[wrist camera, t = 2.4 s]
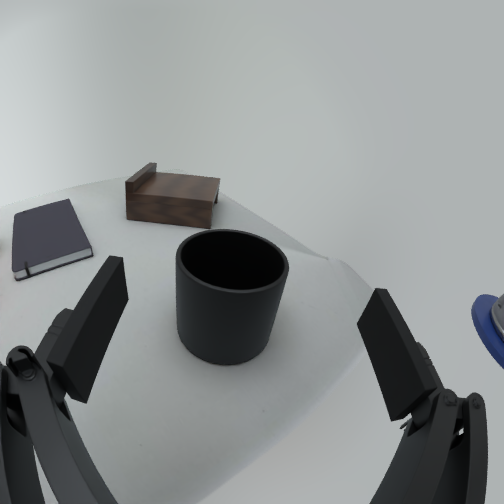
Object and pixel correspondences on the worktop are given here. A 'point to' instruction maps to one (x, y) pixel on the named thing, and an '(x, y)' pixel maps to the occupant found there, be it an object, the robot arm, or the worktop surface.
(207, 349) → the mug
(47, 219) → the notebook
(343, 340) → the worktop surface
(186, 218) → the wooden stand
